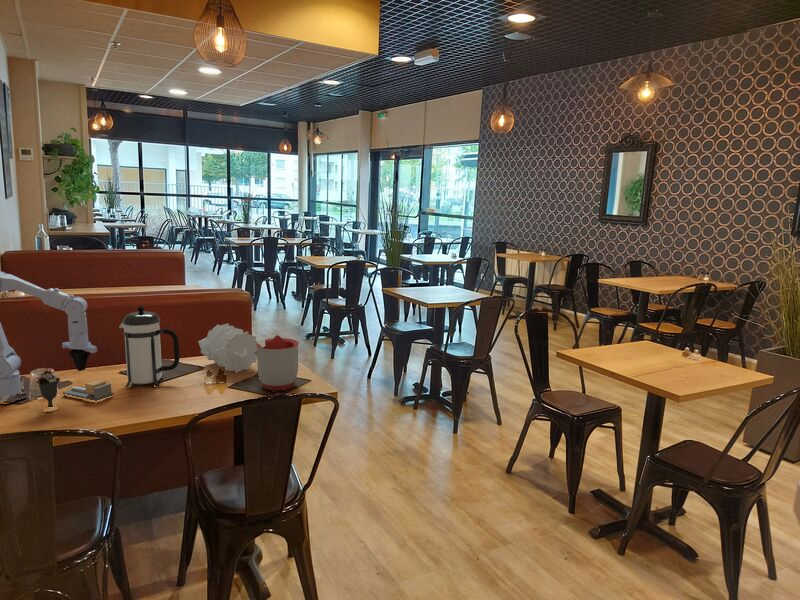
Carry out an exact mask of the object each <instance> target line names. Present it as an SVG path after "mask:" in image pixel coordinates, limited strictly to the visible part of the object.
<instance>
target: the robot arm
mask: <svg viewBox="0 0 800 600" xmlns="http://www.w3.org/2000/svg"><path fill="white" fill-rule="evenodd" d="M8 291H17V292H21V293H23V294H26V295H29V296H32V297H35V298H38V299H41V302H42V303H43V304H44V305H47V306H49V307H52V308H55V309H57V310H60V311H62V312H63V311H64V312H65V314H66V315H67V326H68V340H69V341H66V342H61V345H62V346H61V347H62V349H69V350H71V351H68V355H69V356H70V357H71V359H72V361H73V362H74V365H75V368H76V370H77V371H78V372H81V371H85V370H86V367H87V363H88V359H89V357H90V355H91V354H94V353H97V352H98V346H95V345H93V344H92V343H91V341H89V333H88V332H89V331H88V329H89V328H88V320H87V319H88V318H87V312H86V311H87V308H88V302H87V301H86V299H85V298H83V297H81V296H75V295H74V294H67V293H65V292H62V291H60V289H59V288H57V287H55V288H52V287H51V288H48V289H45V288H42V287H40V286H39V285H36V284H34V283H31V282H29V281H27V280H25V279H22V278H20V277H18V276H16V275H13V274H10V273H6V272H4V271H0V293H1V292H2V293H3V292H8ZM21 365H22V359H21V357H20V356H19V355H18V354H17V353H16V351H15V350H14V348H13V347H11V346H10V345H9V342H8V339H7V337H6V334H5V332H4V328H3V325H2V323H1V322H0V397H3V396H6V395H15V394H17V393H19V392H21V393H22V386H21V385H22V384H21V383H22V382H21V375H20V373H21V372H20V371H19V368H20V367H21Z"/></svg>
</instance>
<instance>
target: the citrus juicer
mask: <svg viewBox="0 0 800 600" xmlns="http://www.w3.org/2000/svg"><path fill="white" fill-rule="evenodd" d="M299 344H300V343H299V341H298V340H296V339H292V338H286V337H285V338H283V337H281V336H280V335H278V334H277V335H274V337H273V338H268V339H265V341H264V346H262V344H259V342H257V344H256V346H257V351H255V352H254V355H256V354H257V360H256V365H257V374H258V378H259V381H260V384H261V386H262V388H263V389H265V390H269V391H279V390H283V391H284V390H288V389H291V388H293V387H294V385H295V383H296V380H297V377H298V371H299Z"/></svg>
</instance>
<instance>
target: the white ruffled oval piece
mask: <svg viewBox="0 0 800 600" xmlns="http://www.w3.org/2000/svg"><path fill="white" fill-rule="evenodd" d="M257 343H258V341H257V336H255V335H251V334H249V331H245V332H244V330H243V329H242V328H237V327H234V325H230V324H229V323H224V324H222V325H221V324H216V326H214V327H213V328H212V329H211V330H210V329H208V333H207V336H206V337H205V338H202V339H201V340H198V345H199V347H200V353H201V354H203V356H205V357H206V358H207V361H213V362H214V363H213V364H216V365H217V367H222V368H224V371H232V372H234V371H235V373H236V374H237V373H239V372H241V371H243V370H246V371H248V370H249V369H250V367H251V366H252V364H253V363H256V364H257V354H256V355H254V352H255V351H257V346H256V344H257Z"/></svg>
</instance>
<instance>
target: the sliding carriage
mask: <svg viewBox="0 0 800 600" xmlns="http://www.w3.org/2000/svg"><path fill="white" fill-rule="evenodd" d="M104 384H107V381H106V380H101V379H95V380H92V381H89V382H87V383H85V384H84V385H85V386H84V387H85V388H86V392H88V394H91V395H94V394H93V388H95V387H98V386H101V385H104Z"/></svg>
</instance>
